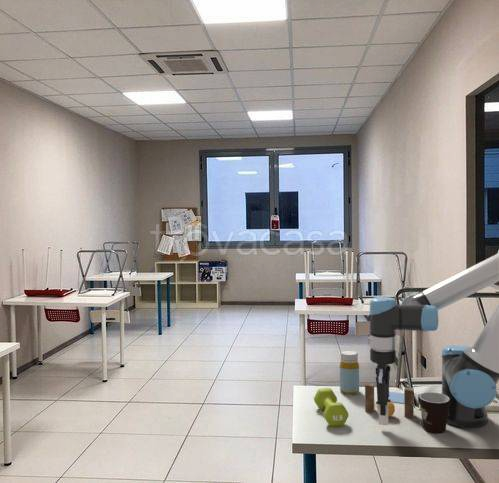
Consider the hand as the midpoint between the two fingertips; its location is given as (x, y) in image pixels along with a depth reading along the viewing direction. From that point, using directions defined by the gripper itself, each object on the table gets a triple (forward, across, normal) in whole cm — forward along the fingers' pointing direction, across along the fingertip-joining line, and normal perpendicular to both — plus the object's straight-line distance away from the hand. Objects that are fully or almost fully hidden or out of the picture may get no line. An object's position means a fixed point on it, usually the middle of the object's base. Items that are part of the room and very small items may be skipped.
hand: (383, 423), depth 150 cm
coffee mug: (+2, -7, +14) cm, 16 cm away
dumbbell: (+2, -4, -18) cm, 18 cm away
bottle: (+2, -27, -16) cm, 31 cm away
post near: (+2, -13, +6) cm, 15 cm away
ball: (-1, -10, -1) cm, 10 cm away
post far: (+2, -13, -6) cm, 15 cm away
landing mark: (+2, -27, 0) cm, 27 cm away
